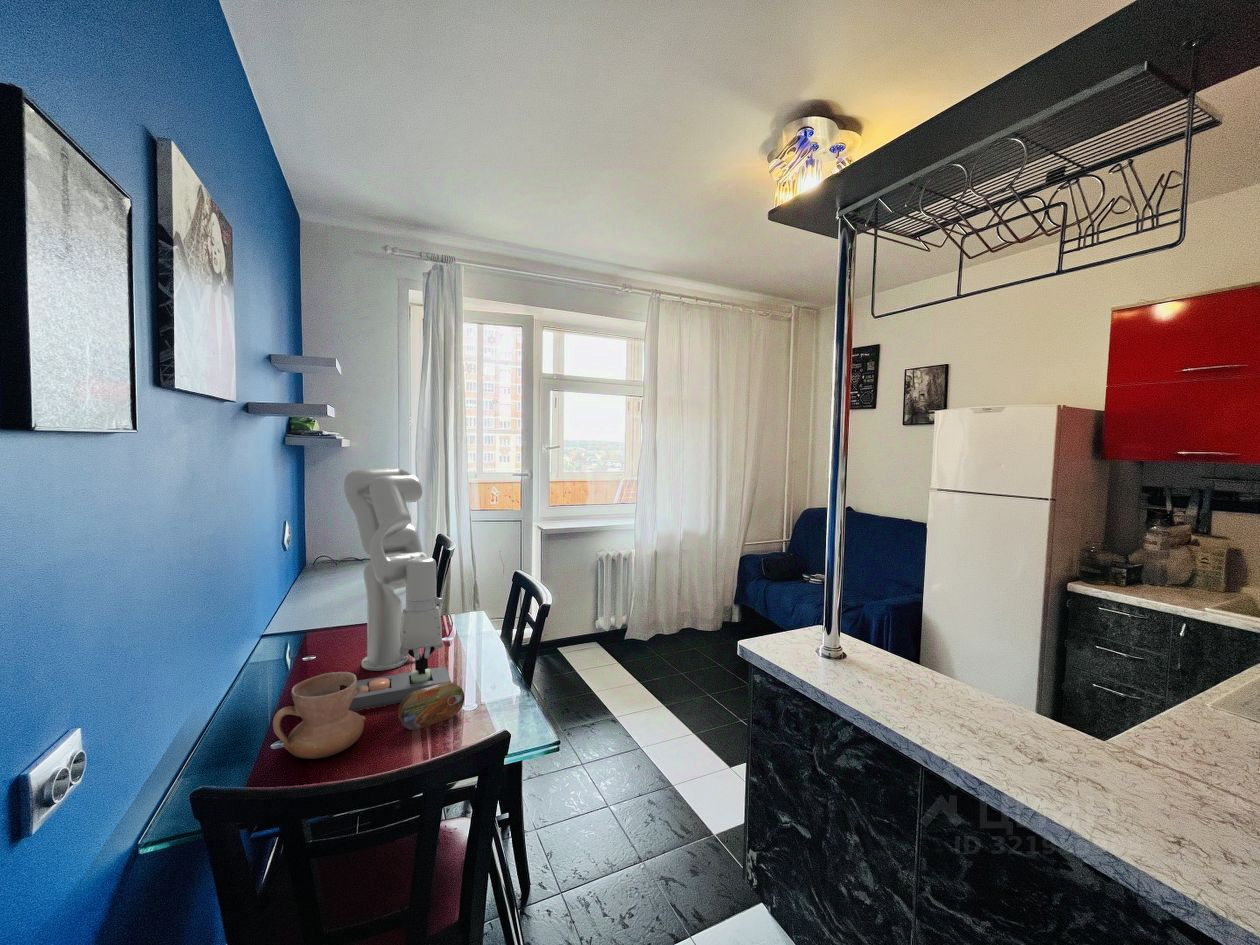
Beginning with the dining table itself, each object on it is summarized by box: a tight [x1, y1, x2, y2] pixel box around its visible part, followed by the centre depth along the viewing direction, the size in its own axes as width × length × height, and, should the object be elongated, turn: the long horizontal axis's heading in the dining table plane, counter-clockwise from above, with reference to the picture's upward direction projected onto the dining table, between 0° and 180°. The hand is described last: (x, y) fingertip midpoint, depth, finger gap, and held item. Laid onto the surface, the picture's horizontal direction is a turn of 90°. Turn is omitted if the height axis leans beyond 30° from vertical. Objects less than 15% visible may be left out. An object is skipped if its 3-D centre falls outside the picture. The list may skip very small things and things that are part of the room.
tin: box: [397, 681, 465, 731], centre depth 123 cm, size 15×3×8 cm, turn 130°
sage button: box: [410, 668, 431, 684], centre depth 138 cm, size 5×5×3 cm
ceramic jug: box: [272, 671, 369, 760], centre depth 112 cm, size 18×14×14 cm
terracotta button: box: [369, 678, 390, 692], centre depth 134 cm, size 5×5×3 cm
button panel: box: [348, 665, 452, 712], centre depth 136 cm, size 24×10×4 cm, turn 117°
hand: (421, 672), depth 138 cm, fingers closed
